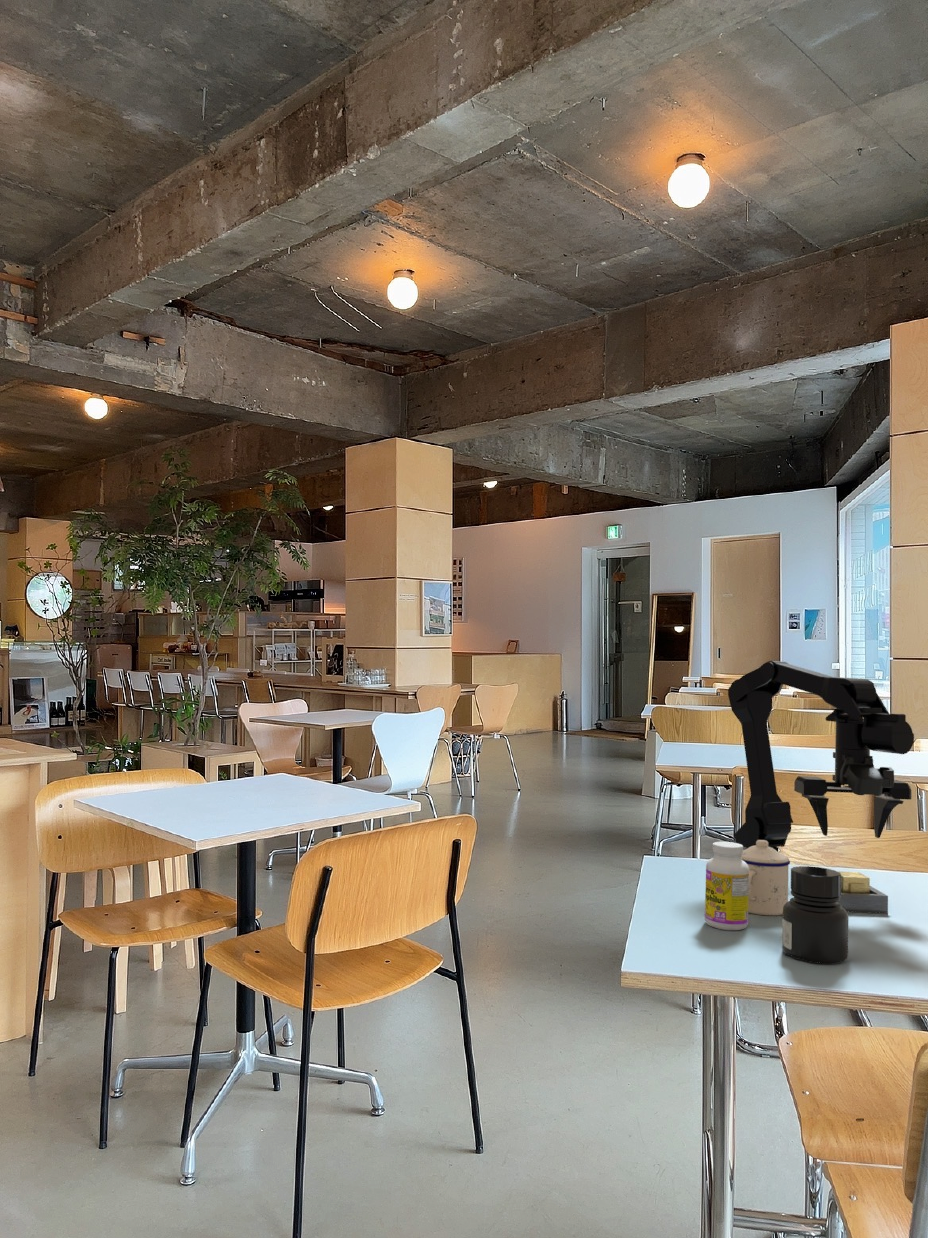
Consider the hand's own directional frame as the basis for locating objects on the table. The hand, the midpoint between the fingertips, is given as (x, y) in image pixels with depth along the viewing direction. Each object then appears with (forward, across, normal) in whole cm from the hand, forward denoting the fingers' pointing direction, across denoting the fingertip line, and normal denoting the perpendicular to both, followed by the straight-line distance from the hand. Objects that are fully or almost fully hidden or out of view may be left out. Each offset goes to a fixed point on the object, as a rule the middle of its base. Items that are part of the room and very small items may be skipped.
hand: (851, 836), depth 162 cm
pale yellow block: (+11, 0, -1) cm, 11 cm away
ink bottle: (+12, -17, -31) cm, 38 cm away
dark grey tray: (+12, 0, +2) cm, 12 cm away
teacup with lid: (+12, -18, -7) cm, 23 cm away
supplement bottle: (+12, -26, -17) cm, 34 cm away
